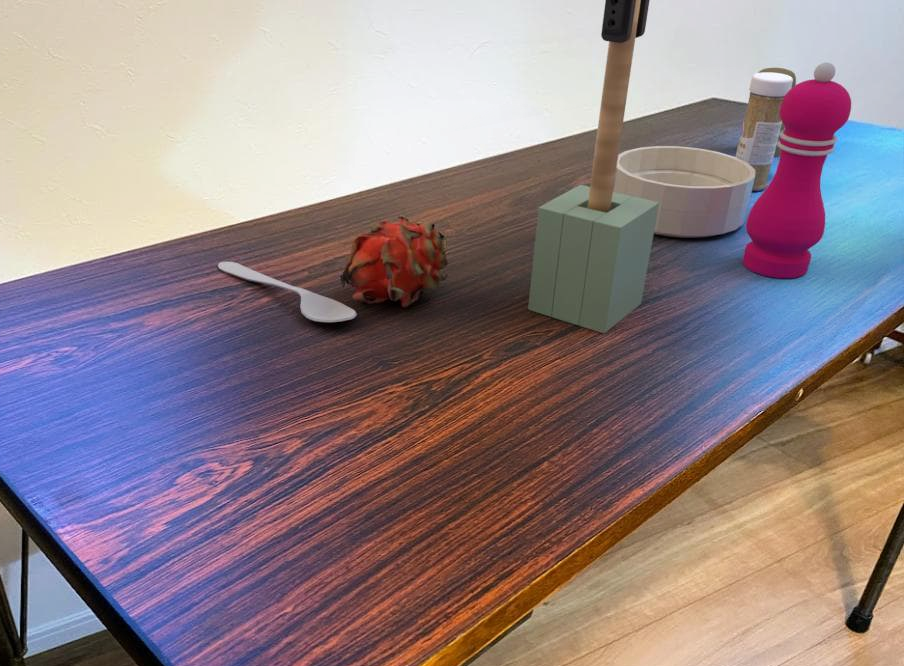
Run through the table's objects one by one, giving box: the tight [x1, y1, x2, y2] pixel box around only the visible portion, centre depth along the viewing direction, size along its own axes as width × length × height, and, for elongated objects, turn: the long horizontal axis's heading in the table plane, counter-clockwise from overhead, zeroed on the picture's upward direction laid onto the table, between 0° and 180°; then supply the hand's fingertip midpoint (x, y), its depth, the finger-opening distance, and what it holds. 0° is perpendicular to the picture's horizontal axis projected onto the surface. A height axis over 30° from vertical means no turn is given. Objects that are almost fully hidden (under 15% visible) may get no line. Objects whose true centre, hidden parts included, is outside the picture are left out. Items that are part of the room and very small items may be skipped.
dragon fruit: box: [339, 214, 449, 308], centre depth 85 cm, size 8×8×12 cm
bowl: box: [613, 145, 755, 239], centre depth 104 cm, size 15×15×6 cm
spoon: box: [217, 261, 357, 324], centre depth 87 cm, size 4×21×2 cm, turn 42°
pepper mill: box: [742, 62, 852, 279], centre depth 88 cm, size 7×7×20 cm
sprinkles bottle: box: [735, 72, 793, 192], centre depth 111 cm, size 5×5×13 cm
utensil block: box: [527, 184, 659, 334], centre depth 82 cm, size 8×8×10 cm
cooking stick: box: [587, 0, 641, 213], centre depth 75 cm, size 2×2×20 cm
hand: (622, 37), depth 72 cm, fingers closed on cooking stick, 2 cm apart
